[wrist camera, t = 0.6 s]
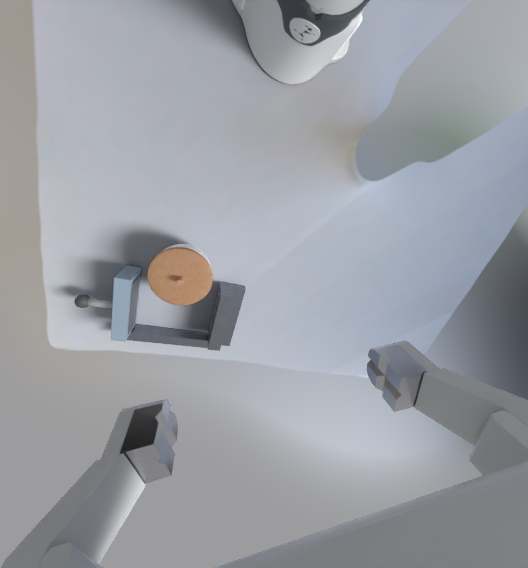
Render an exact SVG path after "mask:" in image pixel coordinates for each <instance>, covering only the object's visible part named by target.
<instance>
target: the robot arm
mask: <svg viewBox="0 0 528 568" xmlns="http://www.w3.org/2000/svg"><path fill="white" fill-rule="evenodd" d="M369 1H370V0H232V2H233V4H234V6H235V8H236V9H237V11H238V13H239V14H240V16H241V18H242V20H243V23H244V27H245V31H246V35H247V39H248V42H249V45H250V48H251V50H252V53H253V55H254V57H255V58H256V60H257V62H258V63H259V65H260V66H261V67H262V68H263V70H264V71H265V72H266V73H267V74H269V75H270V76H271V77H273V78H274V79H276V80H278V81H280V82H283V83H287V84H298V83H303V82H305V81H307V80H309V79H311V78H312V77H314V76H315V75H316V74H317V73H318V72H319V71H320V70H321V69H322V68H324V67H325V66H326V65H327V64H330V63H334V62H336V61H339V60H340V59H342V58H343V57H344V55H345V54H346V53H347V50H348V46H349V41H350V37H351V36H352V34H353V33H354V32H355V30H356V29H357V28H358V26H359V25H360V23H361V21H362V18H363V17H362V12H363V10H364V9H365V7H366V5H367V4H368V3H369ZM368 357H369V358H370V359H371V360H370V361H369V363H368V364H367V373H368V376H369V379H370V380H371V382H372V384H373V385H374V386H375V387H376V388H378V389H380V390H381V391H382V395H383V398H384V399H385V400H386V402H387V403H388V404H389V406H390V407H391V408H392V409H393V411H394V412H395V411H399V410H403V409H407V408H411V407H415V408H416V409H417V410H419V411H420V412H422V413H424V414H425V415H427V416H428V417H430V418H431V419H433V420H435V421H436V422H438V423H439V424H441V425H443V426H444V427H446V428H447V429H449V430H451V431H452V432H454V433H456V434H457V435H458V436H460V437H462V438H463V439H465V440H466V441H468V442H470V443H471V444H473V445H474V446H475V447H474V449H473V451H472V453H471V455H470V461H471V462H472V463H473V465H474V466H475V467H476V468H477V469H478V470H479V471H480V472H481V474H482V475H483V476H481V477H478V478H475V479H472V480H469V481H466V482H463V483H460V484H458V485H455V486H452V487H449V488H446V489H443V490H440V491H437V492H434V493H432V494H428V495H426V496H423V497H420V498H417V499H414V500H411V501H408V502H405V503H402V504H399V505H396V506H393V507H390V508H388V509H385V510H382V511H379V512H376V513H373V514H370V515H367V516H364V517H362V518H359V519H355V520H353V521H350V522H347V523H344V524H341V525H338V526H335V527H332V528H329V529H327V530H324V531H321V532H318V533H315V534H312V535H309V536H306V537H303V538H300V539H297V540H294V541H291V542H288V543H286V544H283V545H280V546H277V547H274V548H271V549H268V550H265V551H262V552H259V553H257V554H253V555H251V556H248V557H245V558H242V559H239V560H236V561H233V562H230V563H227V564H225V565H222V566H219V567H216V568H528V400H525V399H523V398H520V397H518V396H515V395H512V394H510V393H507V392H505V391H502V390H499V389H497V388H494V387H491V386H489V385H486V384H484V383H481V382H479V381H476V380H473V379H471V378H468V377H466V376H463V375H460V374H458V373H455V372H453V371H450V370H447V369H445V368H441V369H440V368H438V367H437V366H436V365H435V364H434V363H433V362H431V361H430V360H429V359H428V358H427V357H425V356H424V355H423V354H422V353H421V352H419V351H418V350H417V349H416V348H415V347H414V346H412V345H411V344H410V343H409V342H407V341H400V342H396V343H393V344H388V345H384V346H380V347H376V348H372V349H370V351H369V354H368ZM170 406H171V405H170V403H169V401H168V399H166V400H161V401H156V402H151V403H147V404H142V405H138V406H135V407H130V408H126V409H123V410H122V411H121V412H120V413H119V415H118V418H117V421H116V423H115V425H114V428H113V430H112V432H111V435H110V437H109V440H108V443H107V445H106V447H105V450H104V452H103V455H102V457H101V459H100V460H97V461H95V462H94V463H93V464H92V465H91V466H90V468H89V469H88V470H87V471H86V472H85V473H84V474H83V475H82V476H81V477H80V478H79V480H78V481H77V482H76V483H75V484H74V485H73V486H72V487H71V488H70V490H68V492H67V493H66V494H65V495H64V496H63V497H62V498H61V499H60V500H59V501H58V503H57V504H56V505H55V506H54V507H53V508H52V509H51V510H50V511H49V512H48V514H47V515H46V516H45V517H44V518H43V519H42V520H41V521H40V522H39V523H38V524H37V525H36V527H35V528H34V529H33V530H32V531H31V532H30V533H29V534H28V535H27V536H26V537H25V539H24V540H23V541H22V542H21V543H20V544H19V545H18V546H17V547H16V549H15V550H14V551H13V552H12V553H11V554H10V555H9V556H8V557H7V558H6V559H5V561H4V563H3V565H2V567H1V568H102V567H101V566H100V565H99V563H100V561H101V560H102V558H103V556H104V555H105V553H106V551H107V550H108V548H109V546H110V545H111V543H112V541H113V539H114V538H115V536H116V534H117V532H118V531H119V529H120V528H121V526H122V524H123V523H124V521H125V519H126V518H127V516H128V514H129V513H130V511H131V509H132V507H133V505H134V504H135V502H136V501H137V499H138V497H139V495H140V494H141V492H142V491H143V489H144V487H145V484H146V483H149V482H152V481H155V480H158V479H161V478H164V477H168V476H171V475H172V469H173V462H174V452H173V450H172V446H173V445H174V443H175V442H176V441H177V434H178V425H177V419H176V416H175V414H174V413H173V412H171V411H170Z"/></svg>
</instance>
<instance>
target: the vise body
mask: <svg viewBox="0 0 528 568" xmlns="http://www.w3.org/2000/svg"><path fill="white" fill-rule="evenodd" d="M244 293H245V286H241V285H235V284H230V283H225V282H220V284H219V289H218V293H217V297H216V301H215V305H214V309H213V314H212V318H211V322H210V326H209V330H208V333H206V332H198V331H190V330H181V329H173V328H164V327H156V326H147V325H139V324H135V325H134V327H133V329H132V331H131V333H130V334H129V336H128V338H127V340H133V341H143V342H153V343H163V344H173V345H183V346H193V347H203V348H208V349H209V350H219V351H220V347H221V345H225V346H229V345H230V342H231V338H232V335H233V331H234V328H235V324H236V321H237V317H238V314H239V310H240V307H241V303H242V300H243V296H244Z"/></svg>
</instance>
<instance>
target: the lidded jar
mask: <svg viewBox="0 0 528 568" xmlns="http://www.w3.org/2000/svg"><path fill="white" fill-rule="evenodd" d="M147 278H148V283H149V285H150V287H151V289H152V291H153V292H154V293H155V294H156V295H157V296H158V297H159V298H161V299H162V300H164V301H166V302H168V303H171V304H175V305H190V304H193V303H196V302H198V301H200V300H201V299H203V298H204V297H205V296H206V295H207V294H208V292H209V291H210V289H211V286H212V281H213V274H212V268H211V265H210V262H209V260H208V258H207V257H206V255H205V254H204V253H203V252H202V251H201V250H199V249H198V248H196V247H194V246H191V245H188V244H175V245H172V246H169V247H167V248H165V249H164V250H162V251H161V252H160V253H159V254H157V255H156V256H155V257H154V258H153V260H152V261H151V263H150V265H149V267H148V271H147Z"/></svg>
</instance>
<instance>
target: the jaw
mask: <svg viewBox="0 0 528 568" xmlns="http://www.w3.org/2000/svg"><path fill="white" fill-rule="evenodd" d="M140 273H141V268H140V267H135V266H130V265H126V266H125V267H124V268H123V269H122V270H121V271H120V272H119V273H118V274H117V275H116V276H115V277H114V288H113V301H106V300H99V299H92V298H90V297H89V296H87V295H79V296H77V297H76V299H75V304H76V306H78V307H81V308H85V307H87V306H94V307H101V308H109V309H112V326H111V340H116V341H126V340H127V338H128V336H129V334H130V333H131V331H132V329H133V327H134V325H135V323H136V315H137V304H138V294H139V284H140Z"/></svg>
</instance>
